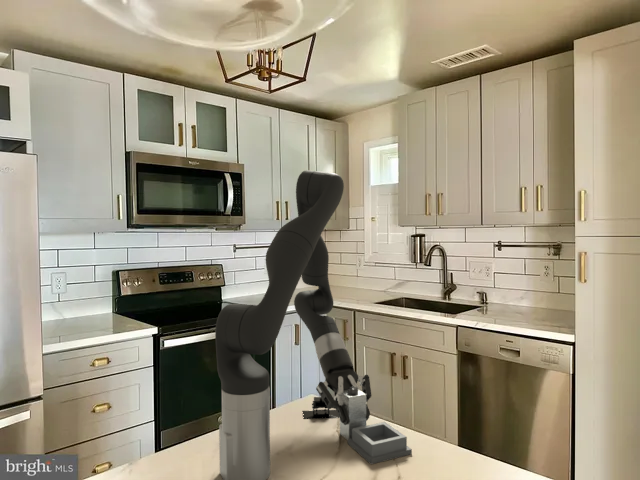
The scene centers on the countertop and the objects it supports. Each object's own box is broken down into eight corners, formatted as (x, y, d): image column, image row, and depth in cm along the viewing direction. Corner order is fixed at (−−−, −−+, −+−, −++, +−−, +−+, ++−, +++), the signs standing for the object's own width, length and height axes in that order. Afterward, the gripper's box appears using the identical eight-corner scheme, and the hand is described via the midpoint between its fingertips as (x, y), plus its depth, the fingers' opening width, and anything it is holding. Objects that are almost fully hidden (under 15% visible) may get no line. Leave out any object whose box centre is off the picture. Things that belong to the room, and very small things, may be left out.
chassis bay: (371, 464, 94) (371, 447, 94) (347, 443, 103) (347, 428, 103) (411, 453, 98) (411, 437, 98) (385, 435, 107) (385, 420, 107)
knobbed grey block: (349, 441, 104) (348, 393, 103) (339, 433, 108) (339, 387, 108) (366, 437, 106) (366, 390, 105) (356, 430, 110) (356, 384, 109)
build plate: (297, 422, 115) (297, 404, 115) (296, 411, 123) (296, 394, 123) (346, 421, 116) (346, 403, 116) (343, 409, 123) (343, 393, 123)
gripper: (311, 350, 110) (334, 419, 99) (363, 344, 116) (390, 408, 105) (302, 367, 115) (323, 434, 104) (353, 359, 121) (377, 422, 110)
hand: (357, 421), depth 105 cm, fingers closed on knobbed grey block, 4 cm apart
